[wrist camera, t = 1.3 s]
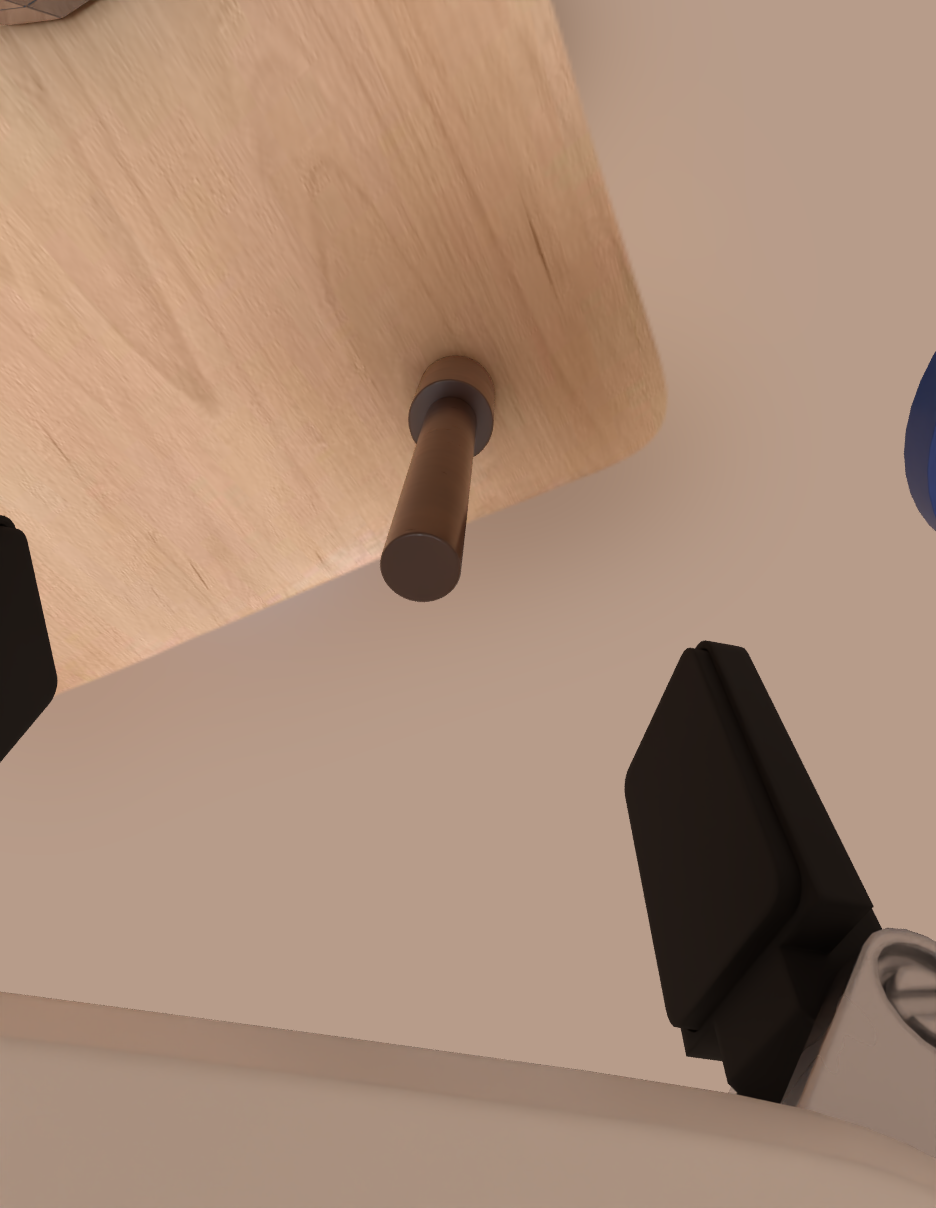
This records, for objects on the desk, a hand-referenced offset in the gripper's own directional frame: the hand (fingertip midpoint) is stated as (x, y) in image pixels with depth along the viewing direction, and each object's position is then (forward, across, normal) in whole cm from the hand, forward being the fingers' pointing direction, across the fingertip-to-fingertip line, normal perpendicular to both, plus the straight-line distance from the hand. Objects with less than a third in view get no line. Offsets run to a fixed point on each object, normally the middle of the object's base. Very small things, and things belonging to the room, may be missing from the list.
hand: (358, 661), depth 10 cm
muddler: (+24, -1, +3) cm, 24 cm away
